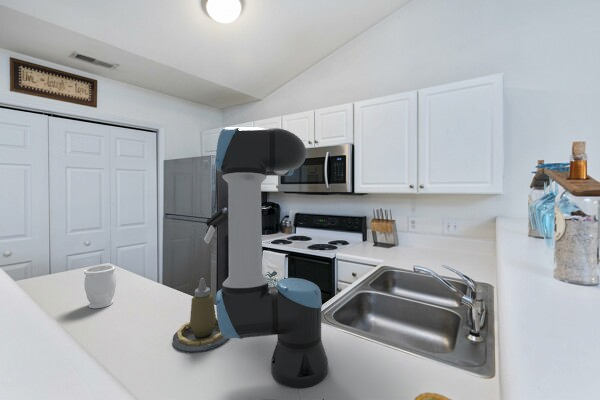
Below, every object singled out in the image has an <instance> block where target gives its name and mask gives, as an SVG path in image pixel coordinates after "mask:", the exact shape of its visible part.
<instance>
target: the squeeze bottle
mask: <svg viewBox="0 0 600 400" xmlns="http://www.w3.org/2000/svg"><path fill="white" fill-rule="evenodd" d="M197 287H198V288H195V290H194V296H192V298H191V303H190V304H191V305H190V306H191V307H190V319H189V322H190V326H191V329H192V331H193V334H194V336H196V337H205V336H208V335H210V334H211V333H212V332H213V329H214V326H215V323H216V318H217V314H216V307H215V302H214V301H215V300H214V295H213V294H212V293H211V289H210V287H207V284H206V281H205V278H204V277H201V278H199V283H198V286H197Z"/></svg>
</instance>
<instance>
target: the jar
mask: <svg viewBox="0 0 600 400" xmlns="http://www.w3.org/2000/svg"><path fill="white" fill-rule="evenodd" d="M115 270H116V265H111V264H110V265H109V264H105V265H97V266H93V267H89V268H86V269H85V270H83V273H84V275H85V277H84V282H83V283H84V291H85V295H86V298H87V301H88V302H89V305H88V307H89V308H90V309H94V310H95V309H102V308H106V307H109V306H111V305H113V304H114V303H115V300H114V299H113V298H114V296H115V293H116V286H117V279H116V278H117V277H116V276H117V275H116V273H115Z"/></svg>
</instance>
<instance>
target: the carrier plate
mask: <svg viewBox="0 0 600 400" xmlns="http://www.w3.org/2000/svg"><path fill="white" fill-rule="evenodd" d="M229 340H230V338H229V339H228V338H225V337H223V336H222V334H221V332H220V329H219V325H218V319H217V317H216V323H215V326H214V329H213V332H212V333H211V334H210V335H208V336H205V337H196V336H194V334H193V331H192V329H191V326H190V321H188V322H186V323H184V324H183V325H181V326H180V328H179V329H178V330H177V331H176V332H175V333H174V334H173V337H172V345H173V348H175V349H176V350H177V351H180V352H183V353H187V354H188V353H189V354H193V353H203V352H208V351H211V350H214V349H217V348H219V347H221V346H222V345H224V344H225V343H227V342H228V341H229Z"/></svg>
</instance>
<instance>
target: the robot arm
mask: <svg viewBox="0 0 600 400" xmlns="http://www.w3.org/2000/svg"><path fill="white" fill-rule="evenodd" d="M216 144H217V146H216V150H215V151H216V154H215V167H216V171H217V172H220V173H221V174H222V175H221V176H222V179H223V180H224V181H225V182H226V183H227V186H228V187H227V188H228V189H227V192H228V193H227V194H228V206H227V207H224V205H221V206H220V207H219V209H218V210H217V211H216V212H215V213H214V214H213V215H212V216H210V218H209V219H208V220H207V221H206V222H205V225H206V226H207V229H206V231H205V236H204V238H203V241H204V242H205V243H206V244H207V245H208V244H209V243H210V242H211V240H212V237H213V236H214V233H215V232H216V229H215V228H217V227H218V226H220V225H221V224H223V223H225V222H226V221H227V222H228V277H227V278H226V279H225V280H224V281H223V282H222V289H220V290H218V291H217V292H216V296H215V301H216V303H215V304H216V307H215V312H216V318H217V319H218V325H219V329H220V332H221V334H222V336H223V337H225V338H228V339H229V340H230V339H240V340H243V339H246V338H248V339H249V338H258V337H267V336H276V337H277V341H276V344H275V348H274V349H273V353H272V357H271V359H270V372H271V375H272V377H273V378H274V379H275V381H277V382H278V383H279V384H281V385H283V386H286V387H289V388H294V389H295V388H296V389H297V388H298V389H302V388H303V389H304V388H310V387H313V386H315V385H318V384H319V383H321V382H322V381H323V380H324V379H325V378H326V377H327V375H328V373H329V372H328V371H329V368H328V367H329V360H328V357H327V354H326V351H325V347H324V345H323V342H322V307H323V303H322V292H321V289H320V287H319V286H318V285H317V284H315V283H314V282H312V281H309V280H307V279H304V278H297V277H285V278H281V279H279V280H278V281H277V282H276V284H275V286H269V280H268V279H267V278H266V276H264V274H263V239H262V238H263V234H262V233H263V232H262V231H263V228H262V225H263V224H262V183H263V182H264V181H265V180H266V179H267V176H268V177H269V176H271V177H272V176H273V177H274V176H278V177H279V176H280V177H283V176H284V177H289V176H293V175H294V172H295V170H297V169H299V168H300V167H301V166H302V165H303V164H305V163H304V162H305V160H306V158H307V149H306V148H307V147H306V145H305V144H304V142H303V141H302V139H301V138H300V137H299V136H298V135H296V134H295V133H294V132H292V131H289V130H287V129H283V128H278V127H274V128H273V127H271V128H270V127H248V126H247V127H245V126H236V127H229V126H228V127H223V129H222V130H221V131H220V133H219V136H218V139H217V143H216Z"/></svg>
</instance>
